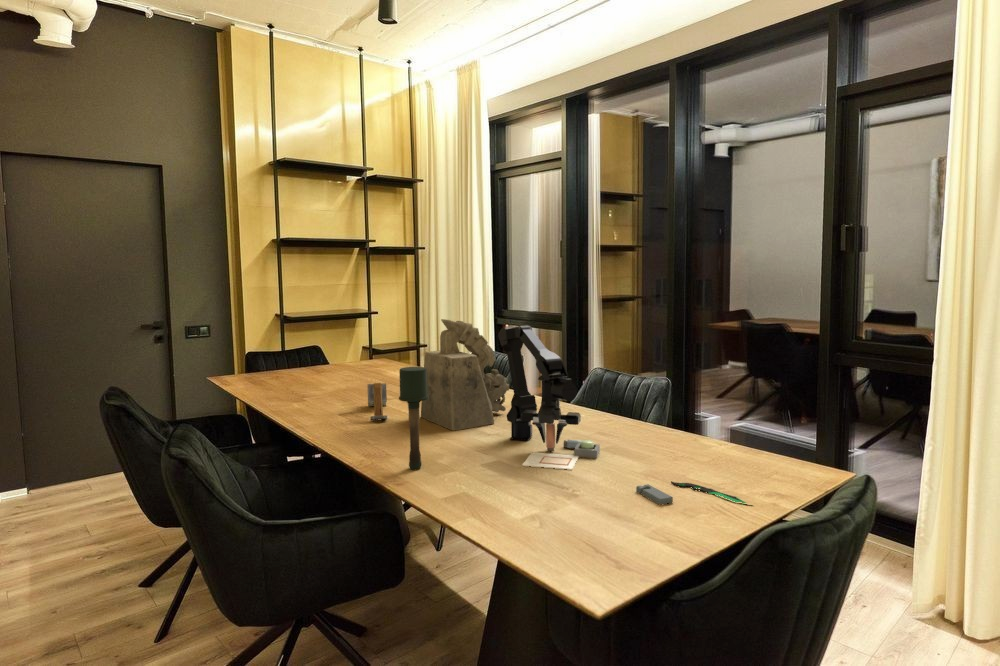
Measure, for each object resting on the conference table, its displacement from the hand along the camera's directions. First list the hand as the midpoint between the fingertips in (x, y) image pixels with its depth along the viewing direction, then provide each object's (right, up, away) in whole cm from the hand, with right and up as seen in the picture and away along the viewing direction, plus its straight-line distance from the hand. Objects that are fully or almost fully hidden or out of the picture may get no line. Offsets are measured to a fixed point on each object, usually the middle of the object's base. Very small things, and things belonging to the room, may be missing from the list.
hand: (550, 443), depth 198 cm
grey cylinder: (+9, -2, +4) cm, 10 cm away
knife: (+38, -7, -39) cm, 55 cm away
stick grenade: (-42, -5, -16) cm, 45 cm away
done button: (+11, -1, -4) cm, 12 cm away
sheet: (-1, -4, -11) cm, 12 cm away
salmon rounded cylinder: (0, -3, 0) cm, 2 cm away
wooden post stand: (-67, +2, +55) cm, 87 cm away
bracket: (+23, -7, -41) cm, 48 cm away
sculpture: (-27, +1, +46) cm, 53 cm away
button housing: (+11, -3, -4) cm, 12 cm away
